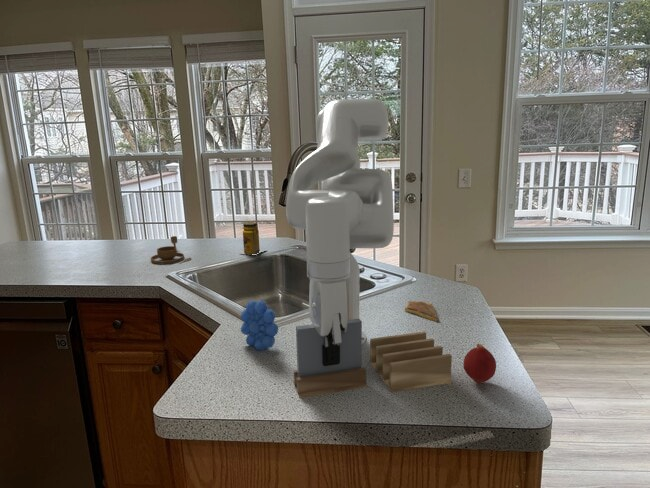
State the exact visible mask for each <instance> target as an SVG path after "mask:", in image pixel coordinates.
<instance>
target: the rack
mask: <svg viewBox="0 0 650 488" xmlns="http://www.w3.org/2000/svg"><path fill="white" fill-rule="evenodd" d="M443 349H444V347H443V346H442V345H438V346H435V339H434V338H427V332H426V331H417V332H411V333H410V332H409V333H403V334H402V333H401V334H396V335H388V336H381V337H372V338H370V341H369V360H368V361H369V363H370V364H371V366H372V367H373V368H374V370H375V371H376V372H377V374H378V375H379V377H380V378H381V379H382V380H383V382H384V383H385V385H386V386H387V388H388V389H389V390H390V392H391V393H398V392H405V391H409V390H415V389H422V388H427V387H433V386H438V385H439V386H440V385H445V384H446V385H448V386H449V387H452V385H453V384H452V382H453V381H452V380H451V379H452V376H451V375H452V360H453V356H452V354H450V353H447V354H443Z"/></svg>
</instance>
